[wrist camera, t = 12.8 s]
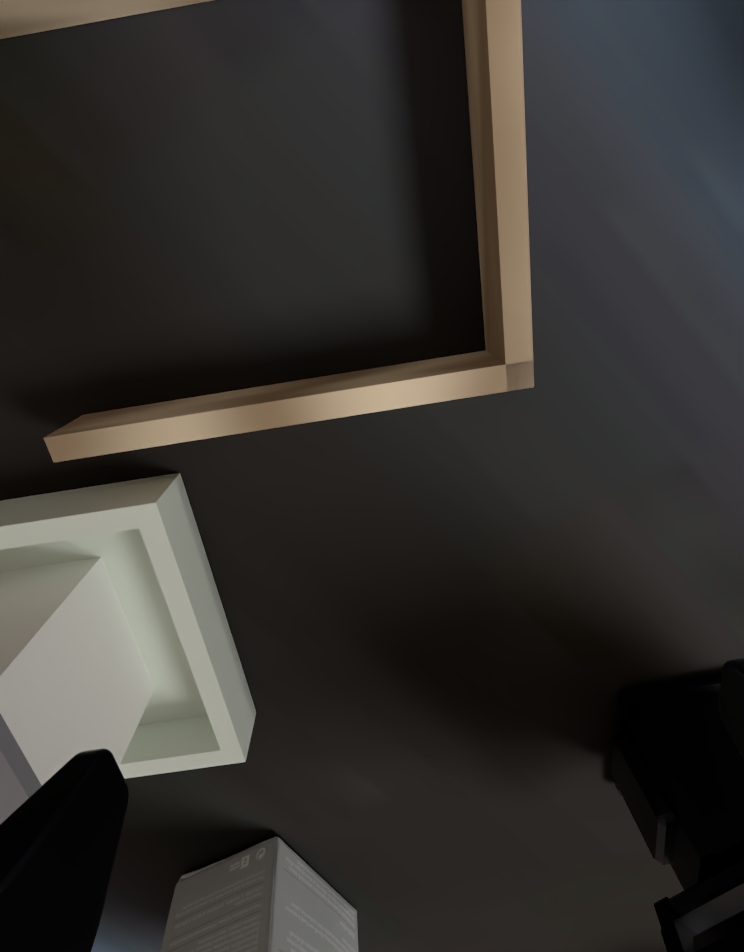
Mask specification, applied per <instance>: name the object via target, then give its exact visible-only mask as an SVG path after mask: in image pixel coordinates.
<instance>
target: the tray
mask: <svg viewBox="0 0 744 952" xmlns="http://www.w3.org/2000/svg"><path fill="white" fill-rule="evenodd" d="M99 557H101V559H102V561H103V563H104V566H105V568H106V571H107V573H108V576H109V578H110V580H111V583H112V585H113V588H114V590H115V593H116V595H117V597H118V600H119V602H120V605H121V607H122V610H123V612H124V614H125V617H126V619H127V622H128V624H129V627H130V629H131V632H132V634H133V636H134V639H135V641H136V644H137V646H138V649H139V651H140V653H141V656H142V658H143V661H144V663H145V666H146V668H147V670H148V673H149V675H150V678H151V680H152V683H153V685H154V687H155V689H154V692H153V694H152V696H151V698H150V700H149V702H148V704H147V707H146V709H145V711H144V713H143V715H142V717H141V720H140V722H139V724H138V726H137V728H136V730H135V733H134V735H133V737H132V739H131V741H130V743H129V746H128V748H127V750H126V752H125V754H124V756H123V759H122V761H121V763H120V765H119V768H120V771H121V773H122V775H123V777H124V779H126V778H133V777H140V776H147V775H155V774H162V773H169V772H176V771H183V770H191V769H198V768H205V767H212V766H220V765H227V764H234V763H241V762H246V758H247V753H248V748H249V744H250V739H251V734H252V730H253V725H254V720H255V716H256V709H255V706H254V703H253V700H252V697H251V694H250V691H249V687H248V684H247V681H246V678H245V675H244V672H243V669H242V666H241V662H240V659H239V656H238V653H237V650H236V647H235V644H234V640H233V637H232V634H231V631H230V628H229V625H228V622H227V618H226V615H225V612H224V609H223V606H222V603H221V600H220V597H219V593H218V590H217V587H216V584H215V581H214V578H213V575H212V571H211V568H210V565H209V562H208V559H207V556H206V553H205V549H204V546H203V543H202V540H201V537H200V534H199V531H198V528H197V524H196V521H195V518H194V515H193V512H192V509H191V506H190V502H189V499H188V496H187V493H186V490H185V487H184V484H183V480H182V477H181V474H180V473H175V474H169V475H162V476H156V477H149V478H143V479H136V480H130V481H124V482H117V483H111V484H104V485H98V486H92V487H85V488H79V489H72V490H66V491H59V492H53V493H47V494H40V495H34V496H27V497H21V498H14V499H8V500H2V501H0V573H1V572H7V571H14V570H20V569H27V568H33V567H40V566H46V565H53V564H59V563H66V562H72V561H79V560H86V559H92V558H99Z"/></svg>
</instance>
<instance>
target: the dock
mask: <svg viewBox="0 0 744 952" xmlns="http://www.w3.org/2000/svg"><path fill="white" fill-rule="evenodd" d="M207 1H213V0H0V39H4V38H10V37H15V36H21V35H26V34H32V33H37V32H43V31H48V30H54V29H59V28H65V27H70V26H75V25H81V24H86V23H92V22H97V21H103V20H108V19H114V18H119V17H125V16H130V15H136V14H141V13H147V12H152V11H158V10H163V9H169V8H174V7H180V6H185V5H191V4H196V3H202V2H207ZM462 12H463V27H464V42H465V56H466V71H467V85H468V100H469V114H470V129H471V144H472V158H473V173H474V187H475V202H476V216H477V231H478V246H479V260H480V275H481V289H482V304H483V319H484V333H485V348H486V350H485V351H479V352H472V353H466V354H460V355H454V356H447V357H441V358H435V359H429V360H422V361H416V362H410V363H403V364H397V365H391V366H385V367H378V368H372V369H366V370H360V371H353V372H347V373H341V374H335V375H328V376H322V377H316V378H310V379H303V380H297V381H291V382H285V383H278V384H272V385H266V386H260V387H253V388H247V389H241V390H235V391H228V392H222V393H216V394H210V395H203V396H197V397H191V398H185V399H178V400H172V401H166V402H159V403H153V404H147V405H141V406H134V407H128V408H122V409H116V410H109V411H103V412H97V413H91V414H84V415H82V416H80V417H78V418H77V419H75V420H73V421H72V422H70V423H68V424H66V425H65V426H63V427H61V428H59V429H58V430H56V431H54V432H53V433H51V434H49V435H47V436H46V437H44V441H45V443H46V445H47V448H48V450H49V453H50V455H51V457H52V460H53V462H54V463H55V462H61V461H67V460H74V459H80V458H86V457H93V456H99V455H105V454H112V453H118V452H124V451H131V450H137V449H144V448H150V447H156V446H163V445H169V444H175V443H182V442H188V441H194V440H201V439H207V438H213V437H220V436H226V435H232V434H239V433H245V432H252V431H258V430H264V429H271V428H277V427H283V426H290V425H296V424H302V423H309V422H315V421H321V420H328V419H334V418H341V417H347V416H353V415H360V414H366V413H372V412H379V411H385V410H391V409H398V408H404V407H410V406H417V405H423V404H430V403H436V402H442V401H449V400H455V399H461V398H468V397H474V396H480V395H487V394H493V393H499V392H506V391H512V390H519V389H525V388H531V387H534V370H533V341H532V312H531V283H530V254H529V225H528V195H527V166H526V137H525V108H524V79H523V50H522V21H521V0H462Z"/></svg>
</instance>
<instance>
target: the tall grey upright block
mask: <svg viewBox="0 0 744 952" xmlns="http://www.w3.org/2000/svg"><path fill="white" fill-rule="evenodd" d="M154 689H155V687H154V685H153V683H152V680H151V678H150V675H149V673H148V670H147V668H146V666H145V663H144V661H143V658H142V656H141V653H140V651H139V649H138V646H137V644H136V641H135V639H134V636H133V634H132V632H131V629H130V627H129V624H128V622H127V619H126V617H125V614H124V612H123V610H122V607H121V605H120V602H119V600H118V597H117V595H116V593H115V590H114V588H113V585H112V583H111V580H110V578H109V576H108V573H107V571H106V568H105V566H104V563H103V561H102V559H101V557H99V558H92V559H86V560H79V561H72V562H66V563H59V564H53V565H46V566H40V567H33V568H27V569H20V570H14V571H7V572H1V573H0V824H1V823H2V822H3V821H4V820H5V819H7V818H8V817H9V816H10V815H11V814H12V813H13V812H14V811H15V810H16V809H17V808H18V807H19V806H21V805H22V804H23V803H24V802H25V801H26V800H27V799H28V798H29V797H30V796H31V795H32V794H34V793H35V792H36V791H37V790H38V789H39V788H40V787H41V786H42V785H43V784H44V783H45V782H46V781H48V780H49V779H50V778H51V777H52V776H53V775H54V774H55V773H56V772H57V771H58V770H59V769H61V768H62V767H63V766H64V765H65V764H66V763H67V762H68V761H69V760H70V759H71V758H72V757H74V756H75V755H76V754H78V753H80V752H82V751H88V750H95V749H102V748H104V749H108V750H109V751H111V752H112V754H113V756H114V758H115V760H116V762H117V764H118V766H119V765H120V763H121V761H122V759H123V756H124V754H125V752H126V750H127V748H128V746H129V743H130V741H131V739H132V737H133V735H134V733H135V730H136V728H137V726H138V724H139V722H140V720H141V717H142V715H143V713H144V711H145V709H146V707H147V704H148V702H149V700H150V698H151V696H152V694H153V692H154Z"/></svg>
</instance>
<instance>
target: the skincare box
mask: <svg viewBox="0 0 744 952" xmlns="http://www.w3.org/2000/svg"><path fill="white" fill-rule="evenodd" d="M160 952H358V932H357V911H356V910H355V909H354V908H353V907H352V906H351V905H350V904H349V903H348V902H347V901H346V900H345V899H344V898H343V897H342V896H341V895H340V894H339V893H337V892H336V891H335V890H334V889H333V888H332V887H331V886H330V885H329V884H328V883H327V882H326V881H325V880H324V879H322V878H321V877H320V876H319V875H318V874H317V873H316V872H315V871H314V870H313V869H312V868H311V867H310V866H309V865H308V864H307V863H306V862H304V861H303V860H302V859H301V858H300V857H299V856H298V855H297V854H296V853H295V852H294V851H293V850H292V849H290V848H289V847H288V846H287V845H286V844H285V843H284V842H283V841H282V840H281V839H280V838H279V837H273V838H271V839H268V840H266V841H263V842H261V843H259V844H256V845H254V846H252V847H250V848H248V849H246V850H244V851H241V852H239V853H237V854H235V855H233V856H231V857H229V858H226V859H224V860H221V861H219V862H216V863H213V864H211V865H209V866H206V867H204V868H201V869H199V870H196V871H193V872H190V873H187V874H184V875H182V876H181V878H180V880H179V882H178V883H177V884H176V886H175V890H174V894H173V898H172V902H171V907H170V911H169V915H168V920H167V924H166V928H165V933H164V937H163V942H162V946H161V951H160Z"/></svg>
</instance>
